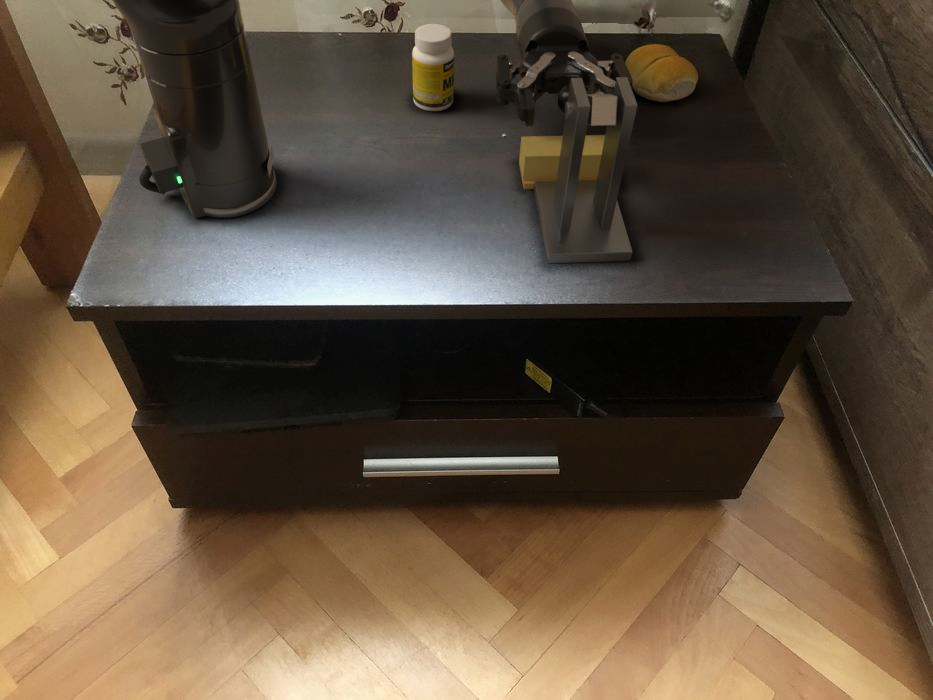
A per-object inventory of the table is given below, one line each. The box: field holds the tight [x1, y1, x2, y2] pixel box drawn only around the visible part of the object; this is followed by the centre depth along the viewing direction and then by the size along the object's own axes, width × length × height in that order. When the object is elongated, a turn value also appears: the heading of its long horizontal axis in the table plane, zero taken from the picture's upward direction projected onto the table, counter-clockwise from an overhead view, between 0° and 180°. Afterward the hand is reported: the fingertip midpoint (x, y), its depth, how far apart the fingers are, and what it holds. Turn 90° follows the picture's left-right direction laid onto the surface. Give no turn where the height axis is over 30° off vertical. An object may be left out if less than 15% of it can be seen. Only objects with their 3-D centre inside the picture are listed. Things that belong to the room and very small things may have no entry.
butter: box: [518, 134, 605, 190], centre depth 81 cm, size 4×10×4 cm, turn 94°
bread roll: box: [624, 43, 699, 103], centre depth 93 cm, size 8×9×4 cm
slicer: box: [533, 77, 638, 264], centre depth 72 cm, size 11×8×15 cm
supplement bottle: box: [411, 23, 455, 112], centre depth 88 cm, size 5×5×8 cm
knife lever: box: [556, 84, 617, 127], centre depth 73 cm, size 15×3×3 cm, turn 4°
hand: (572, 118), depth 79 cm, fingers open, 8 cm apart
